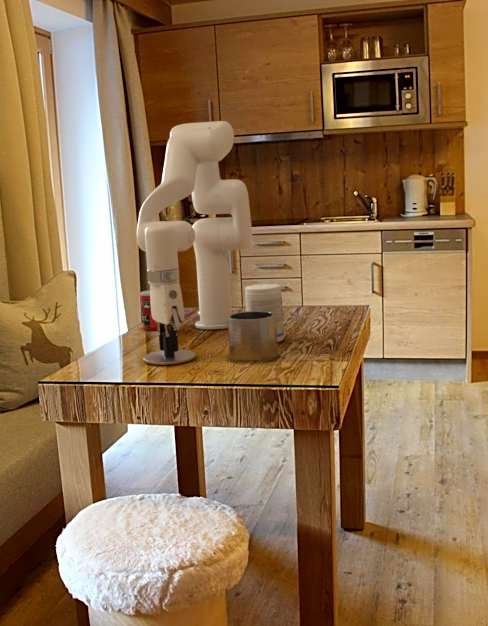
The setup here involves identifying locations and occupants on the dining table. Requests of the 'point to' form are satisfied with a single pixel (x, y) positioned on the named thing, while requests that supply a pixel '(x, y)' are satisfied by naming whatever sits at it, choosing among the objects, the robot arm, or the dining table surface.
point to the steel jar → (252, 336)
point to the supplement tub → (266, 303)
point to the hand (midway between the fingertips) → (169, 350)
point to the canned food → (147, 312)
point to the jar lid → (169, 356)
